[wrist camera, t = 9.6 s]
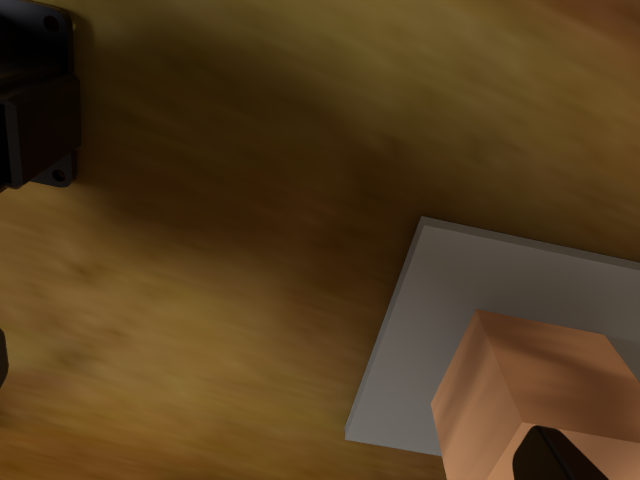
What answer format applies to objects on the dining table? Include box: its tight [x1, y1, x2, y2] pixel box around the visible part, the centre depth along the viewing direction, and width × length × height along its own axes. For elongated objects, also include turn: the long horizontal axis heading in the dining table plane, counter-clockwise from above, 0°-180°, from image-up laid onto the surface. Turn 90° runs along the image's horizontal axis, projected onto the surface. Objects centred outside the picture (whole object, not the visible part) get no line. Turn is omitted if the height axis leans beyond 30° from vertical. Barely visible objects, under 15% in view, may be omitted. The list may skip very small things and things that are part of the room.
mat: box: [345, 216, 640, 456], centre depth 23 cm, size 13×13×1 cm
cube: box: [431, 309, 640, 480], centre depth 20 cm, size 6×6×6 cm
